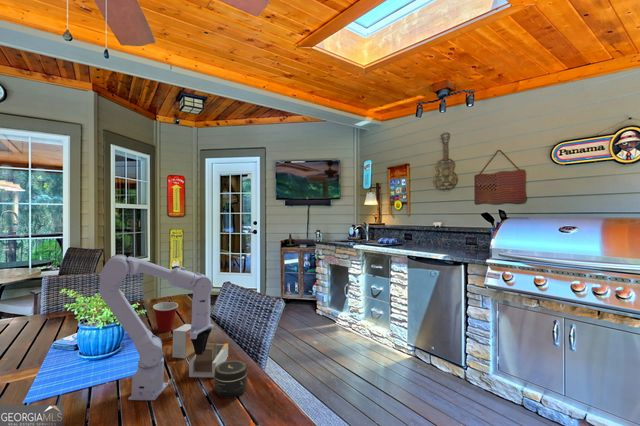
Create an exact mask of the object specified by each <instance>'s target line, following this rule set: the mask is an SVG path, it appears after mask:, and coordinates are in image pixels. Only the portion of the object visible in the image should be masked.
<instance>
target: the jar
mask: <svg viewBox="0 0 640 426" xmlns="http://www.w3.org/2000/svg"><path fill="white" fill-rule="evenodd" d="M247 374H248V366H247V364H246V363H245V362H244V361H241V360H236V359H235V360H234V359H233V360H231V359H230V360H226V361H225V362H222V363H220V364H219V365H217V366H216V368H215V374H214V377H213V378H214V392H215V394H216V395H217V396H218V397H219V398H223V399H233V398H236V397H240V396H241V395H242V394H243V393H244V392H245V390H246V387H247V383H248V382H247V381H248V380H247V378H248V376H247Z"/></svg>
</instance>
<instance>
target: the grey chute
mask: <svg viewBox="0 0 640 426" xmlns="http://www.w3.org/2000/svg"><path fill="white" fill-rule="evenodd" d="M227 357H228V358H229V343H217V354H216V358H215V359H214V361H213V362H212V372H199V371H196V354H195V355H194V356H193V357H192V358H191V359H190V361H189V362H188V378H215V377H214V374H215V368H216V366H217V365H219V364H220V363H222V362H225V361H227V359H228V358H227Z"/></svg>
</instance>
